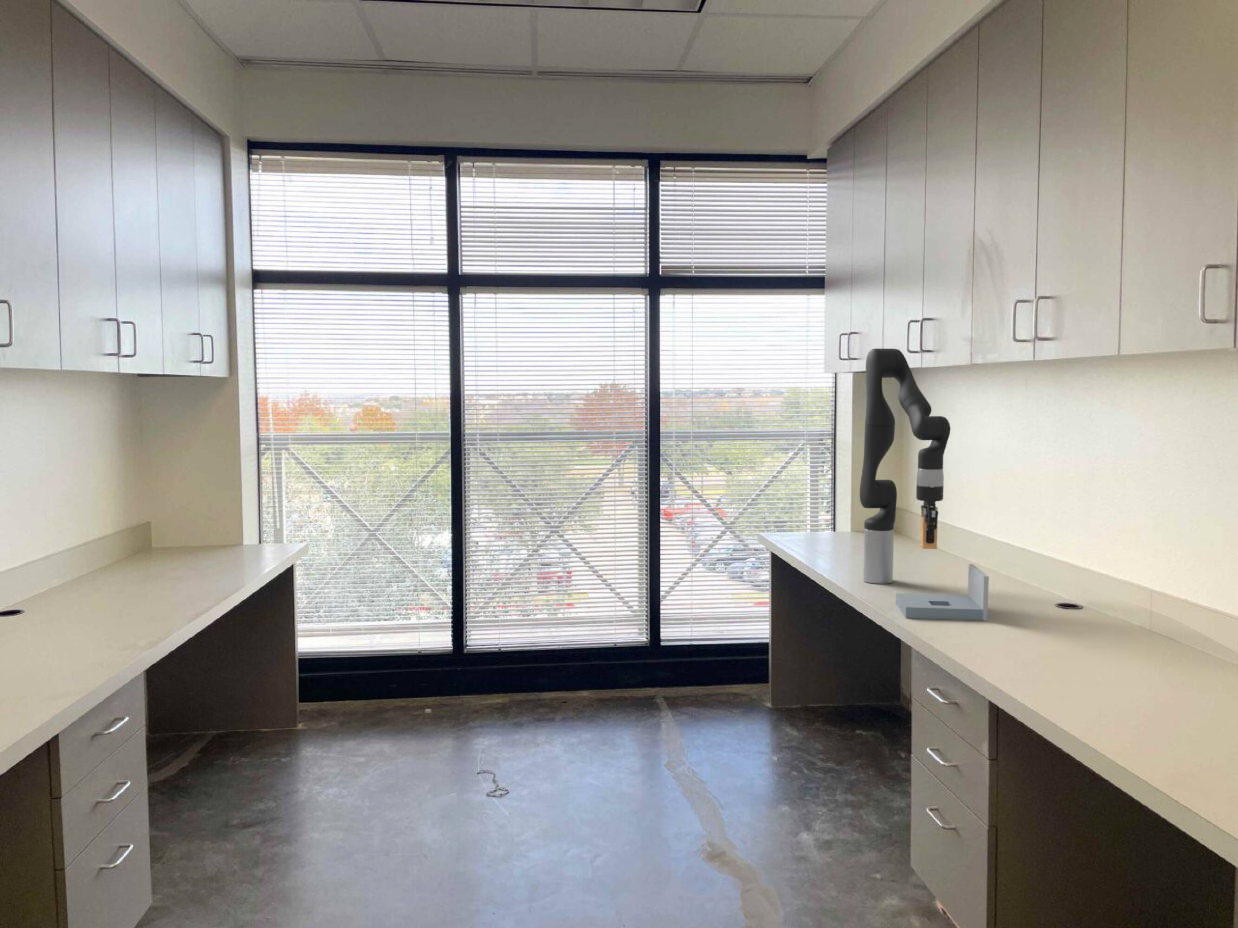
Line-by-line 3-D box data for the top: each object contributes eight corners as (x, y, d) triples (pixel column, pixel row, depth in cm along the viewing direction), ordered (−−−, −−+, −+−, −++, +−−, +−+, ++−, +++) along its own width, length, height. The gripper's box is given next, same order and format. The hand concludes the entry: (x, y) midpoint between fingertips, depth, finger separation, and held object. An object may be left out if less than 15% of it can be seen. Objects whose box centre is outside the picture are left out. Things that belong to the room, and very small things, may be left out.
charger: (920, 546, 273) (920, 515, 272) (934, 546, 272) (934, 516, 271) (922, 548, 269) (923, 517, 268) (936, 548, 268) (937, 518, 267)
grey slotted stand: (895, 603, 266) (896, 562, 266) (971, 605, 263) (973, 564, 262) (905, 617, 249) (906, 574, 248) (987, 620, 246) (988, 576, 245)
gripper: (912, 481, 276) (911, 537, 278) (921, 486, 262) (919, 545, 264) (938, 481, 275) (937, 538, 277) (948, 486, 261) (946, 546, 263)
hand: (928, 541), depth 270 cm, fingers closed on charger, 4 cm apart
